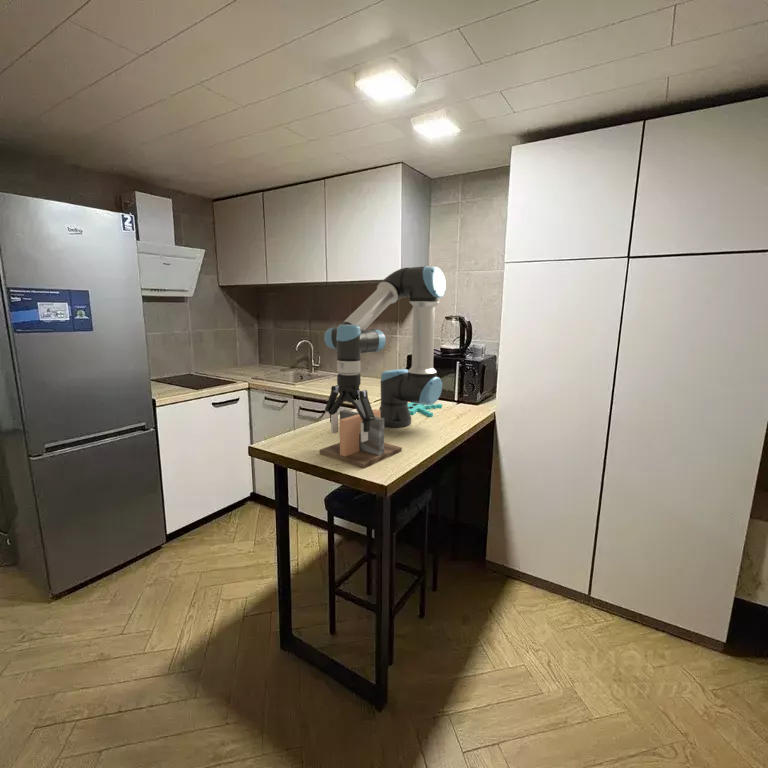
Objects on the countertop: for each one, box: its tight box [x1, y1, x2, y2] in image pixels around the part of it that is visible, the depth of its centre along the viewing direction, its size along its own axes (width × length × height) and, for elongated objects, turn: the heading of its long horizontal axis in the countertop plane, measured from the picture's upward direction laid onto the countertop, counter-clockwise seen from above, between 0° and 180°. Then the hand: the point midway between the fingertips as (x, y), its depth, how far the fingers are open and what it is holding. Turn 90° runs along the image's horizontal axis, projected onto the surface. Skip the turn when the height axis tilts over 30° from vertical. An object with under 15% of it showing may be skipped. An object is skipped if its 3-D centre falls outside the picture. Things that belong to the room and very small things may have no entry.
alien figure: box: [408, 402, 443, 418], centre depth 203 cm, size 20×2×20 cm
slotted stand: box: [319, 409, 403, 469], centre depth 143 cm, size 20×20×14 cm
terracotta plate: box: [339, 408, 381, 457], centre depth 143 cm, size 18×2×12 cm, turn 141°
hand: (349, 436), depth 138 cm, fingers open, 13 cm apart
